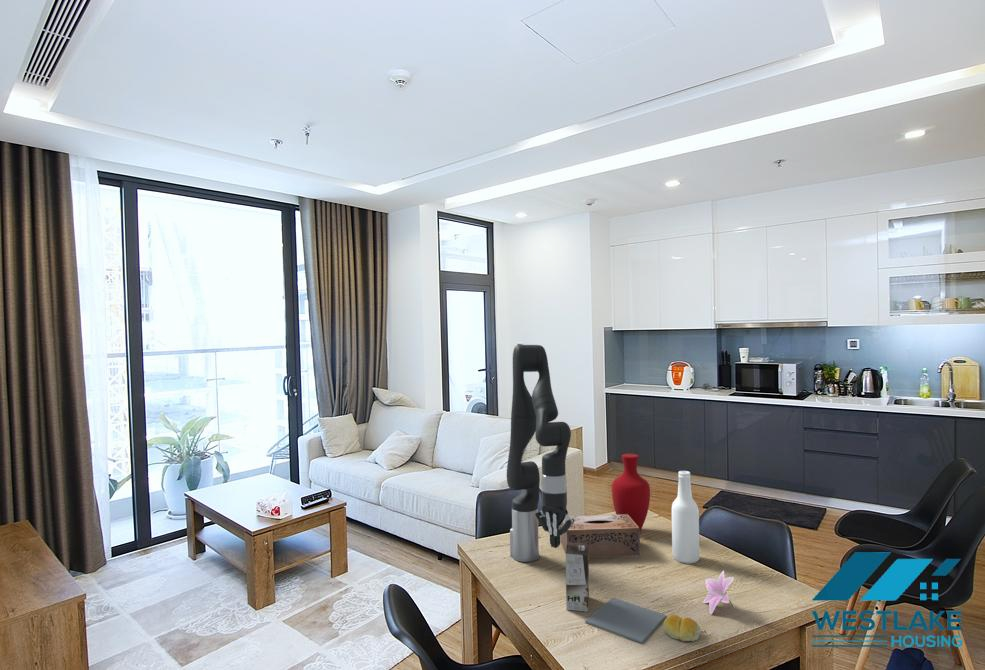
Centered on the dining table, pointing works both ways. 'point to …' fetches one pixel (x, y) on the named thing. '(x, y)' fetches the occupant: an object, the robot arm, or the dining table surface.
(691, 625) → the bread roll
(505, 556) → the dining table surface
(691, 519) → the alcohol
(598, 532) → the tissue box cover
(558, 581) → the dining table surface
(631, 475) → the vase
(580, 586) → the coffee box
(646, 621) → the mat
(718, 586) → the lily
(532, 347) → the robot arm
